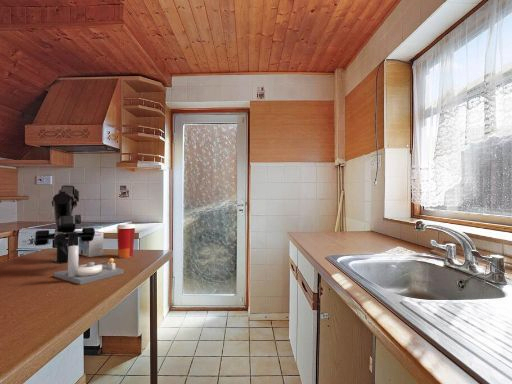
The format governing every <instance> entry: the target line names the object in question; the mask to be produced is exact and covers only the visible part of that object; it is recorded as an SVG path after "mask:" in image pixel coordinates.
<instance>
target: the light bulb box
mask: <svg viewBox="0 0 512 384" xmlns="http://www.w3.org/2000/svg"><path fill="white" fill-rule="evenodd" d="M78 246H79V255H82V256H84V257H87V258H93V257H99V256H103V255H104V232H101V231H97V230H95V235H94V238H93V240H92V241H86V242H83V241H82V240H81V237H78Z"/></svg>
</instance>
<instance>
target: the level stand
mask: <svg viewBox="0 0 512 384" xmlns="http://www.w3.org/2000/svg"><path fill="white" fill-rule="evenodd" d="M101 265H102V272H101V273H98V274H95V275H89V276H75V277H68V269H65V270H59V271H54V272H53V277H55V278H58V279H61V280H64V281H67V282H70V283H73V284H77V285H83V284H88V283H91V282H96V281H100V280H103V279H108V278H111V277H115V276H118V275H122V274H124V272H125V271H124V268H120V267H119V268H118V267H116V263H115V259H114V258H112V257H111V258H109V259H108V263H106V264H101Z"/></svg>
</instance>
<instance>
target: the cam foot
mask: <svg viewBox="0 0 512 384" xmlns="http://www.w3.org/2000/svg"><path fill="white" fill-rule="evenodd" d="M79 255H80V254H79V244H78V245H73V246H68V262H67V270H68V277H75V276H89V275H95V274H98V273H101V272H102V265H106V264H107V263H108V262H109V260H104V261H99V262H94V261H89V262H86V263H84V264H79V257H80V256H79ZM101 264H102V265H101Z"/></svg>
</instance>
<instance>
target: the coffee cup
mask: <svg viewBox="0 0 512 384" xmlns="http://www.w3.org/2000/svg"><path fill="white" fill-rule="evenodd" d="M136 228H137V227H136V225H135V223H118V224H117V226H116V229H117V232H116V233H117V251H118V252H117V254H118V259H129V258H132V257H133V256H134V246H135V245H134V243H135V235H136V234H135V232H136Z"/></svg>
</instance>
